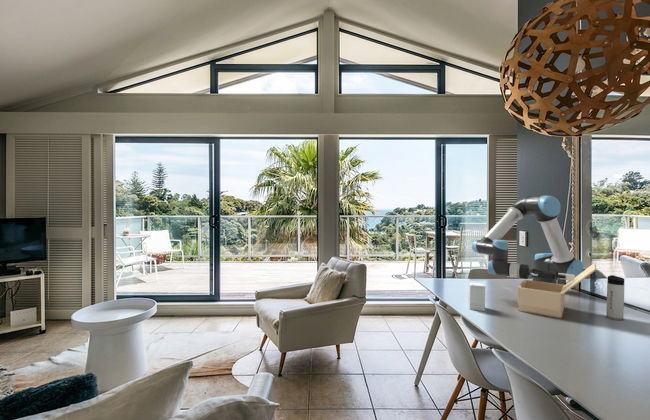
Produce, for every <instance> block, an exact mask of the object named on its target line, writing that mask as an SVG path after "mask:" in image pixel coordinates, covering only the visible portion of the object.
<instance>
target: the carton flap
mask: <svg viewBox="0 0 650 420" xmlns="http://www.w3.org/2000/svg"><path fill="white" fill-rule="evenodd" d="M596 271H597V264H596V263H595V262H593V264H591V265H590V266H588V267H587V268H586V269H585V270H584V269H583V270H582V273H580V274H579V275H578V276H576V277H575V278H574V281H571V280H569V281H568V282H567V283H566V284H564V285H565V286H564V289H563V292H562V293H563V294H564V293H565V294H566V293H567V292H568V291H570V290H571V289H572V288H574V287H575V286H577V285H578V284H579V283H581V282H582V281H583V280H585V279H586V278H588V277H589V276H590V275H591V274H593V273H594V272H596Z"/></svg>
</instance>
